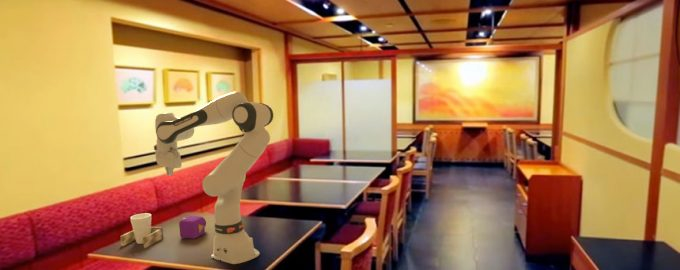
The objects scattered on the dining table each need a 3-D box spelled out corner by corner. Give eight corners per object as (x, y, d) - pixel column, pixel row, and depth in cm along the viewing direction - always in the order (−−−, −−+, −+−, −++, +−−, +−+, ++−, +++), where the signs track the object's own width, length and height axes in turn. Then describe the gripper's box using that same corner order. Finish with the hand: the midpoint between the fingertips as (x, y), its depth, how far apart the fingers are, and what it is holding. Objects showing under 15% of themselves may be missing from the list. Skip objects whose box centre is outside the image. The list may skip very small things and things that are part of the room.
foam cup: (133, 239, 211) (130, 215, 210) (153, 236, 215) (151, 212, 213) (132, 246, 203) (130, 220, 201) (153, 242, 206) (151, 217, 205)
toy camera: (210, 230, 221) (208, 212, 220) (198, 239, 208) (197, 220, 207) (190, 230, 222) (189, 212, 221) (178, 239, 209) (176, 220, 208)
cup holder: (145, 247, 200) (144, 236, 199) (121, 246, 203) (120, 235, 203) (163, 237, 212) (162, 227, 212) (140, 236, 216) (139, 226, 215)
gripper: (183, 147, 192) (186, 176, 194) (165, 144, 207) (167, 171, 208) (170, 149, 188) (172, 179, 190) (152, 146, 202) (154, 174, 204)
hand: (170, 175), depth 199 cm, fingers closed
